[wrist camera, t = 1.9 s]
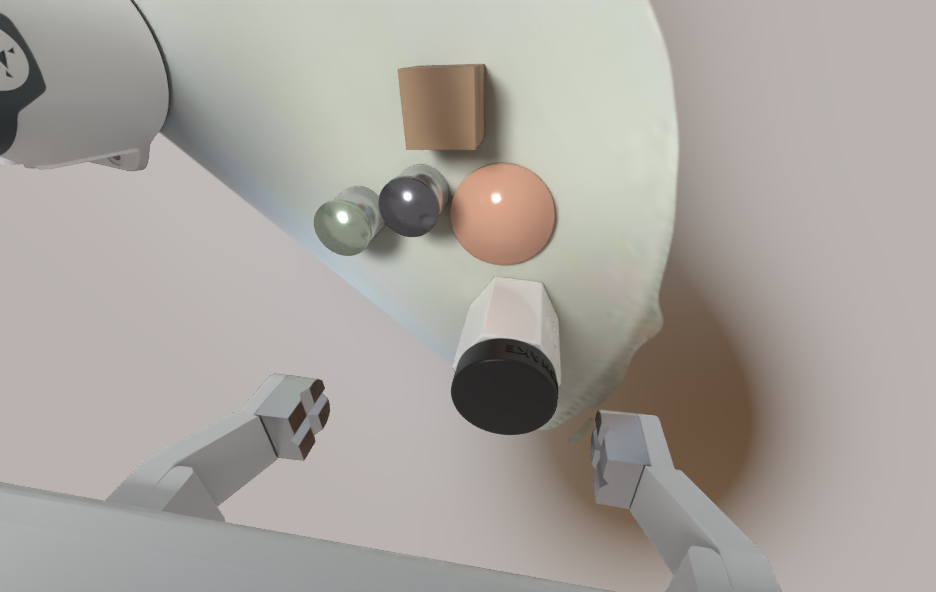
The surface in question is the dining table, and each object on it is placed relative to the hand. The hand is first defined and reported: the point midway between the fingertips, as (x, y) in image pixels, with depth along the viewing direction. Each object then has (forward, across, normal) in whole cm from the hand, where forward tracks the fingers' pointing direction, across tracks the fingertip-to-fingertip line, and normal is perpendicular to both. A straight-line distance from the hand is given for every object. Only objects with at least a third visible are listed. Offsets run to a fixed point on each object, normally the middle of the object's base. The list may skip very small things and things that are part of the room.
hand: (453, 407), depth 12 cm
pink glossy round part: (+25, +1, +4) cm, 25 cm away
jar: (+26, 0, +14) cm, 29 cm away
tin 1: (+25, +14, +4) cm, 29 cm away
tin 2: (+25, +8, +2) cm, 27 cm away
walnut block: (+25, +5, -6) cm, 26 cm away
